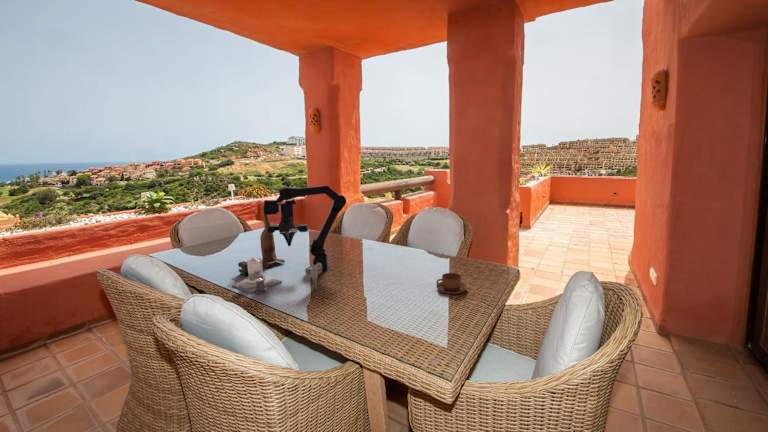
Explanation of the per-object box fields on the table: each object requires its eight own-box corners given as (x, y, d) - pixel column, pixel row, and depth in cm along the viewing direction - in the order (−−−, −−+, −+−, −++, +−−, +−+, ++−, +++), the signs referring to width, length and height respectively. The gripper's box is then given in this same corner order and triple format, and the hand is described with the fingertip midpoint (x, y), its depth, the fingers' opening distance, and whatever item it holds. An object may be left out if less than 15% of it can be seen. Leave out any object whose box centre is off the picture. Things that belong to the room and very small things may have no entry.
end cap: (245, 278, 161) (244, 264, 160) (238, 275, 165) (236, 261, 164) (265, 272, 168) (264, 259, 167) (257, 270, 173) (256, 256, 172)
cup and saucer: (448, 298, 131) (448, 283, 130) (430, 288, 142) (430, 274, 141) (473, 292, 137) (473, 277, 136) (453, 283, 147) (453, 269, 146)
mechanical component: (324, 284, 149) (323, 262, 148) (311, 293, 140) (310, 269, 138) (318, 284, 150) (316, 261, 149) (305, 292, 141) (304, 269, 139)
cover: (268, 277, 156) (266, 255, 154) (262, 283, 148) (260, 260, 146) (250, 278, 156) (248, 256, 154) (244, 284, 148) (241, 261, 146)
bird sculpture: (268, 269, 173) (263, 206, 168) (253, 266, 179) (247, 205, 174) (285, 263, 182) (280, 203, 177) (270, 260, 188) (265, 202, 183)
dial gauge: (267, 292, 142) (266, 279, 141) (257, 294, 140) (256, 281, 139) (264, 289, 145) (262, 276, 144) (254, 292, 143) (253, 278, 142)
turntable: (262, 276, 162) (262, 273, 162) (281, 282, 153) (281, 279, 153) (231, 286, 151) (231, 282, 151) (250, 293, 142) (250, 289, 141)
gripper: (261, 217, 155) (264, 250, 158) (303, 216, 155) (305, 249, 158) (269, 213, 166) (272, 244, 169) (308, 212, 166) (310, 244, 169)
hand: (289, 246), depth 166 cm, fingers closed
